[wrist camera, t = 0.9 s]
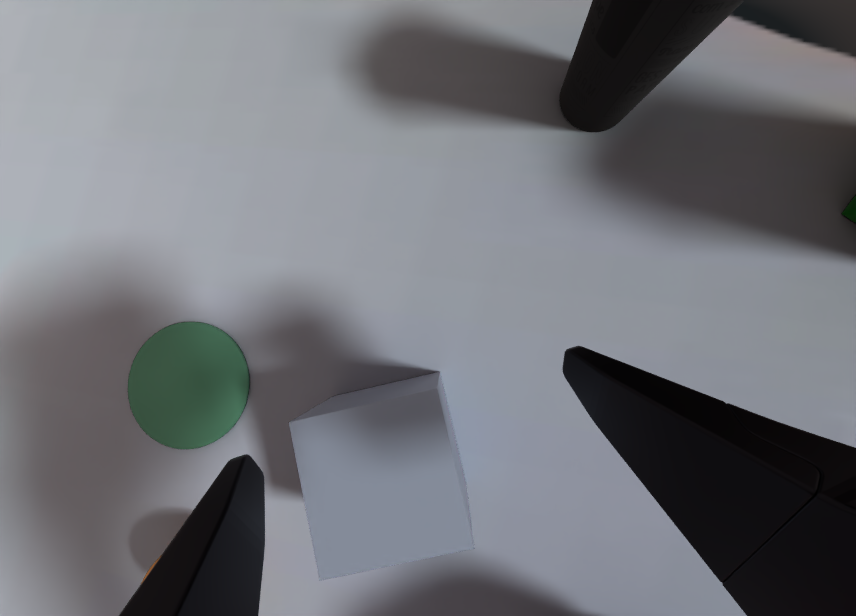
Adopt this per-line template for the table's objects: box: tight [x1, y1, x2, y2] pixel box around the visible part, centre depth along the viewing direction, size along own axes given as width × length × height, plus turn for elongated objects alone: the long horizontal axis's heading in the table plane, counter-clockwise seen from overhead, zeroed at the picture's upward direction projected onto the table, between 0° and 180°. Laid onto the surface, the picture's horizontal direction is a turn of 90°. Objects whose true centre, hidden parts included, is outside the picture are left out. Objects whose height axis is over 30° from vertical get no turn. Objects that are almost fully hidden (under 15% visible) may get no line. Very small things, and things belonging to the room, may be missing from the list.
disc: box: [128, 322, 249, 449], centre depth 23 cm, size 9×9×1 cm
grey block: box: [289, 372, 475, 580], centre depth 19 cm, size 8×8×6 cm
